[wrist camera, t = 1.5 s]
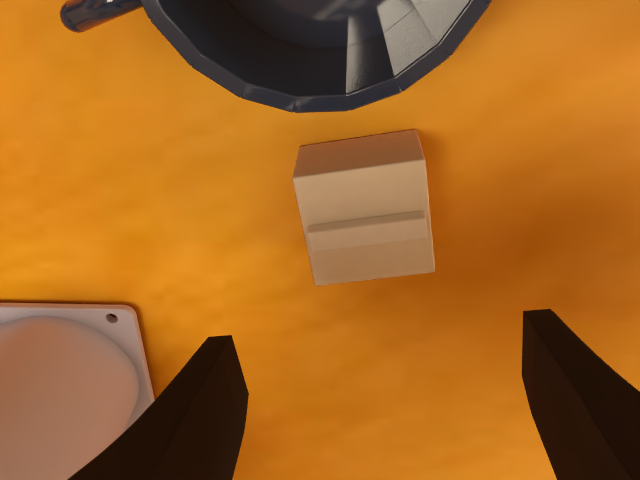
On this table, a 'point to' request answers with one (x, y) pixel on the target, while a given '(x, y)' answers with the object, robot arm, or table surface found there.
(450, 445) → the table surface
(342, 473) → the table surface
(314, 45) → the mug
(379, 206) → the tan ridged cube
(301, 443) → the table surface
